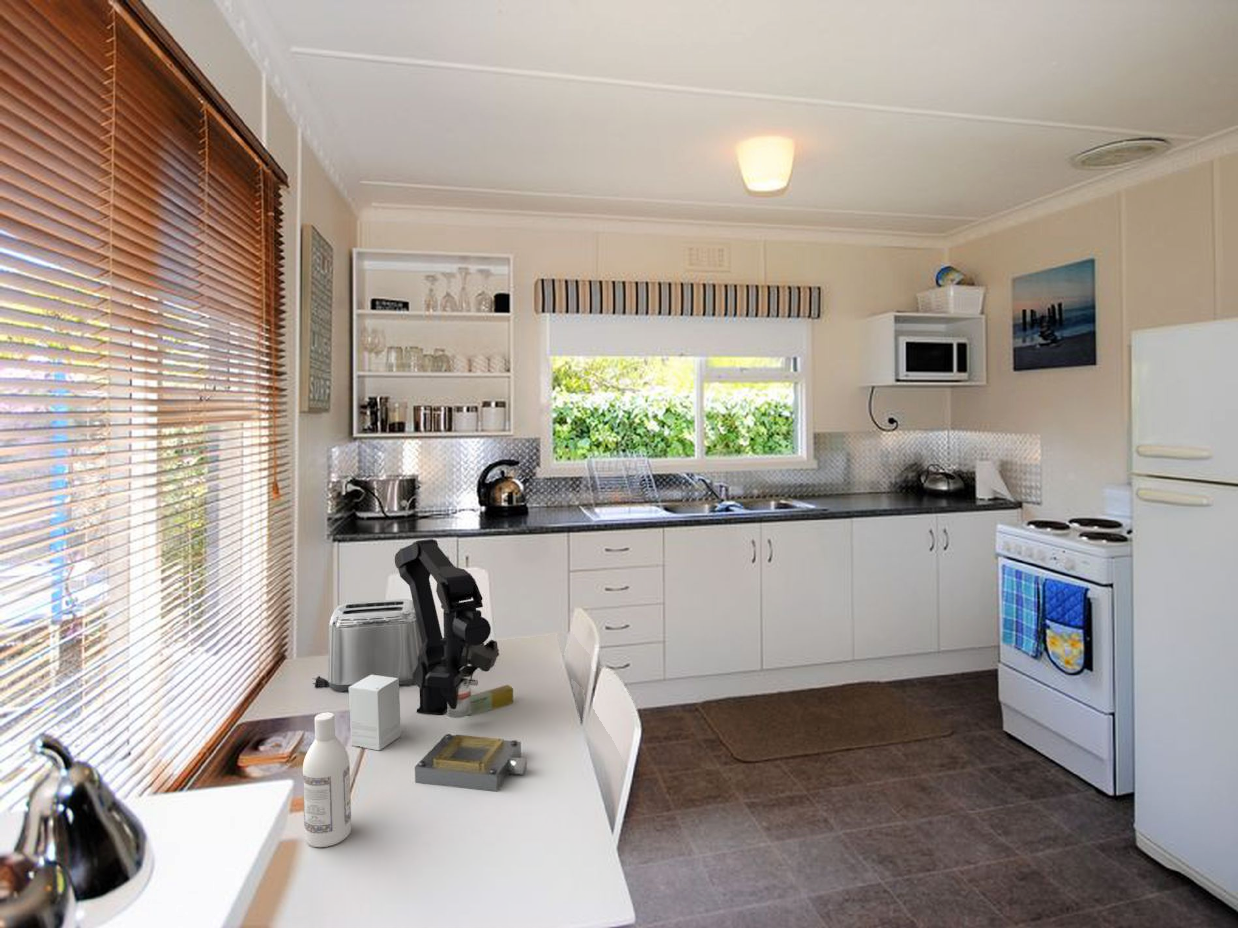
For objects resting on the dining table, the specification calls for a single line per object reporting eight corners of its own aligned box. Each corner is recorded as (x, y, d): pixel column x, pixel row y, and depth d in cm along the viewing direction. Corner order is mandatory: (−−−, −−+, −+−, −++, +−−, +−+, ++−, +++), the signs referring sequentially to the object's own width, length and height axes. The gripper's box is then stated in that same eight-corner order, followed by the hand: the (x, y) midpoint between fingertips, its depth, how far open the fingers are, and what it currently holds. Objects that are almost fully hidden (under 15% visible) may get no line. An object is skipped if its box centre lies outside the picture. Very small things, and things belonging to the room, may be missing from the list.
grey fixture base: (415, 782, 127) (414, 761, 127) (446, 748, 140) (445, 729, 139) (512, 793, 123) (512, 771, 123) (535, 757, 136) (535, 738, 136)
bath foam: (338, 817, 116) (334, 702, 114) (359, 833, 111) (356, 714, 110) (297, 836, 111) (292, 716, 109) (317, 854, 106) (313, 729, 105)
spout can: (442, 716, 146) (442, 680, 145) (453, 706, 151) (452, 671, 150) (472, 719, 144) (472, 682, 144) (482, 709, 149) (481, 673, 149)
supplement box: (402, 735, 146) (400, 677, 145) (379, 751, 139) (377, 690, 138) (373, 730, 148) (371, 673, 147) (349, 745, 141) (347, 686, 140)
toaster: (434, 686, 172) (432, 611, 171) (307, 697, 165) (304, 620, 164) (435, 662, 188) (433, 594, 187) (320, 672, 181) (317, 601, 180)
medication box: (467, 717, 154) (467, 700, 154) (462, 713, 156) (462, 696, 156) (513, 703, 162) (513, 687, 162) (507, 699, 164) (507, 683, 164)
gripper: (475, 649, 136) (476, 726, 137) (508, 621, 154) (509, 689, 155) (423, 646, 138) (425, 721, 139) (462, 619, 156) (463, 685, 157)
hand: (459, 703), depth 148 cm, fingers closed on spout can, 5 cm apart
